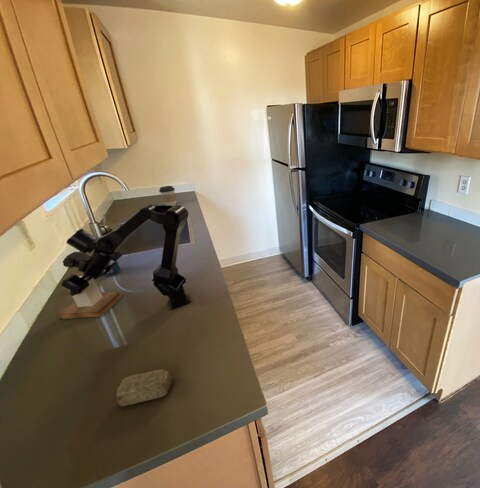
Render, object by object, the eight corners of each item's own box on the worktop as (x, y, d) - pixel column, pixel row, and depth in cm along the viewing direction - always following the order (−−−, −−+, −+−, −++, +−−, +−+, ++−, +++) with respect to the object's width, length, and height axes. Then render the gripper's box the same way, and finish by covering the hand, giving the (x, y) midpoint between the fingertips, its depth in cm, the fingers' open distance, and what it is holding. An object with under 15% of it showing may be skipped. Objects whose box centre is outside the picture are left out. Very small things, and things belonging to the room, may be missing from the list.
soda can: (116, 268, 134) (107, 245, 128) (124, 271, 130) (114, 248, 125) (100, 274, 128) (90, 252, 123) (108, 278, 125) (97, 255, 120)
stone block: (169, 396, 70) (163, 383, 68) (118, 410, 68) (110, 396, 65) (174, 377, 75) (168, 365, 73) (127, 389, 73) (120, 376, 70)
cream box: (102, 297, 107) (92, 275, 103) (92, 306, 102) (81, 283, 98) (88, 298, 107) (77, 276, 103) (77, 307, 102) (65, 284, 98)
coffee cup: (181, 204, 229) (176, 186, 222) (166, 208, 221) (161, 189, 215) (175, 202, 236) (170, 184, 229) (161, 205, 229) (156, 187, 222)
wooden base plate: (122, 296, 112) (120, 291, 111) (101, 316, 100) (98, 311, 99) (86, 298, 111) (83, 293, 110) (61, 319, 100) (57, 313, 99)
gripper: (95, 235, 103) (78, 262, 108) (53, 259, 86) (35, 290, 91) (124, 252, 107) (106, 278, 111) (89, 279, 90) (69, 308, 94)
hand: (81, 287), depth 102 cm, fingers open, 9 cm apart
